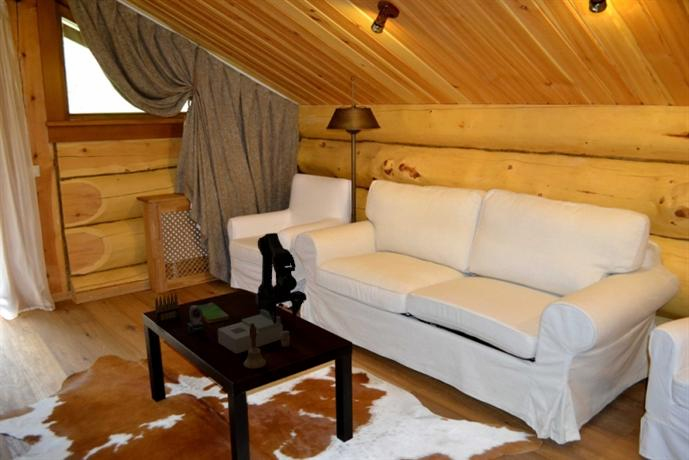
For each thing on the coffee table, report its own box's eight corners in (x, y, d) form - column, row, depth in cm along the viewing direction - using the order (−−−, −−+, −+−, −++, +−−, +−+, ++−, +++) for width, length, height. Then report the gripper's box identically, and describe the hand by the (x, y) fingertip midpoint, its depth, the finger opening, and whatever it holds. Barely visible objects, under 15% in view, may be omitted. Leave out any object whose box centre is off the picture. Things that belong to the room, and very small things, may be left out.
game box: (208, 326, 254) (193, 310, 271) (229, 321, 260) (213, 306, 276) (207, 319, 254) (192, 304, 270) (228, 315, 259) (213, 300, 275)
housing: (264, 328, 248) (263, 315, 247) (282, 338, 237) (282, 325, 236) (218, 342, 234) (217, 329, 233) (236, 353, 224) (235, 339, 222)
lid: (263, 316, 246) (263, 309, 245) (280, 324, 236) (280, 317, 235) (242, 322, 239) (241, 315, 238) (258, 331, 230) (258, 323, 229)
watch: (192, 335, 242) (190, 310, 239) (186, 328, 248) (184, 304, 246) (205, 332, 245) (203, 307, 242) (199, 326, 251) (197, 302, 249)
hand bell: (256, 370, 210) (254, 329, 206) (239, 365, 214) (237, 325, 210) (270, 361, 217) (269, 322, 213) (253, 357, 221) (252, 317, 217)
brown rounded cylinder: (286, 342, 233) (285, 330, 232) (291, 345, 231) (290, 332, 230) (279, 345, 231) (278, 332, 230) (284, 347, 229) (283, 334, 228)
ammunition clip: (178, 317, 262) (176, 292, 259) (180, 318, 261) (178, 293, 258) (155, 322, 255) (153, 297, 253) (157, 324, 254) (155, 298, 251)
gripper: (290, 274, 237) (291, 309, 241) (251, 283, 225) (253, 320, 229) (306, 280, 229) (307, 317, 233) (267, 290, 217) (268, 329, 221)
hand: (284, 320), depth 229 cm, fingers open, 9 cm apart
